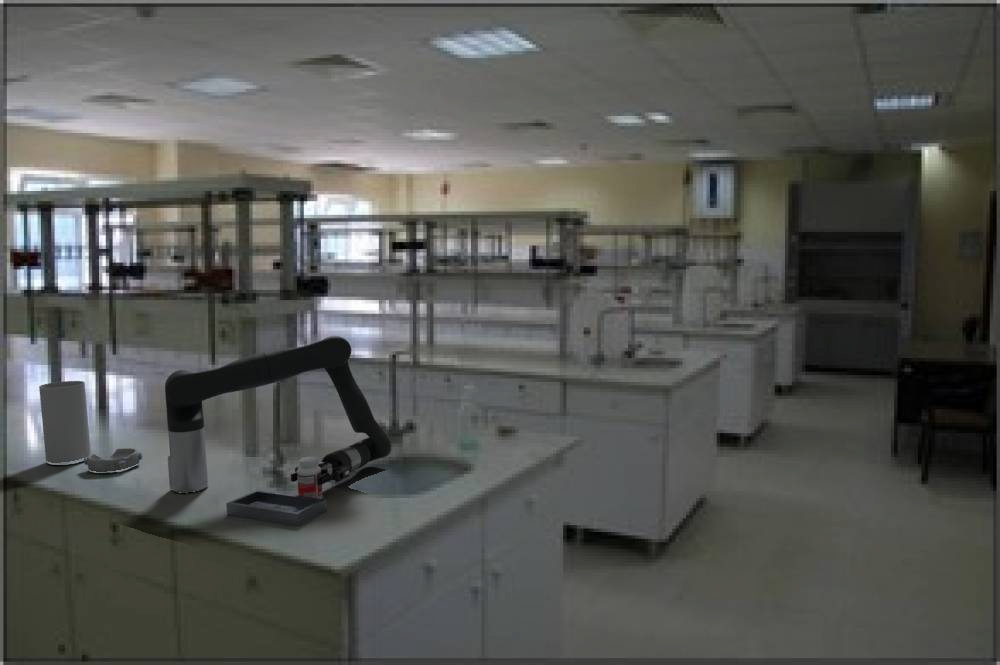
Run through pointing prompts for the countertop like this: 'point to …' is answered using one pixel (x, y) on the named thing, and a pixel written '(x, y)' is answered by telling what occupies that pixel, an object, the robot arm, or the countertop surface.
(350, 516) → the countertop surface
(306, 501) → the rectangular tray
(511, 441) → the countertop surface
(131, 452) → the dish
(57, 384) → the cylinder vase
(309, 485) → the pill bottle
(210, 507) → the countertop surface
